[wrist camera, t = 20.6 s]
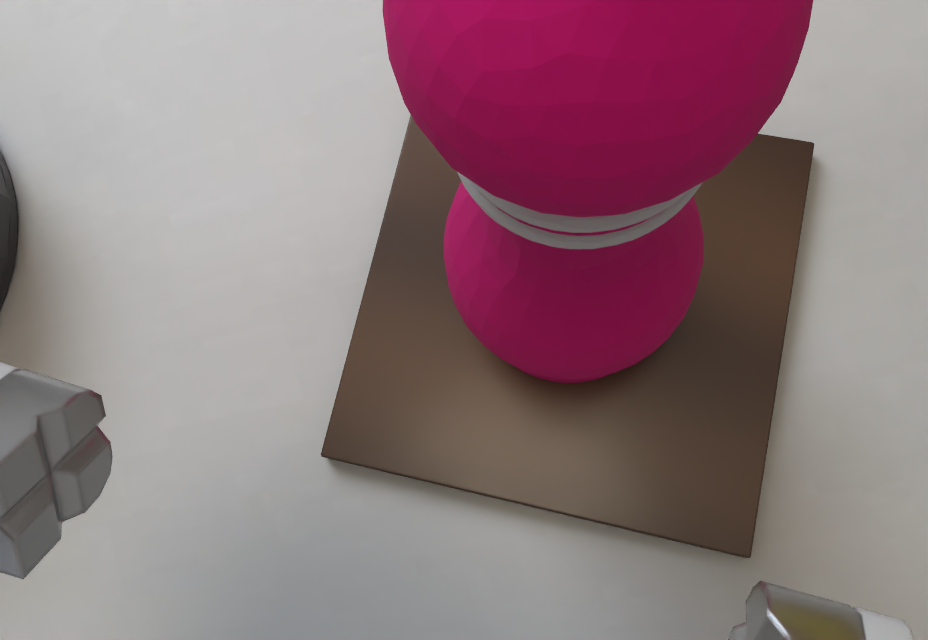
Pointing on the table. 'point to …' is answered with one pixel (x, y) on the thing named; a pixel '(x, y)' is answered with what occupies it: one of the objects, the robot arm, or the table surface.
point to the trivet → (592, 402)
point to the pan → (7, 228)
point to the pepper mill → (585, 157)
